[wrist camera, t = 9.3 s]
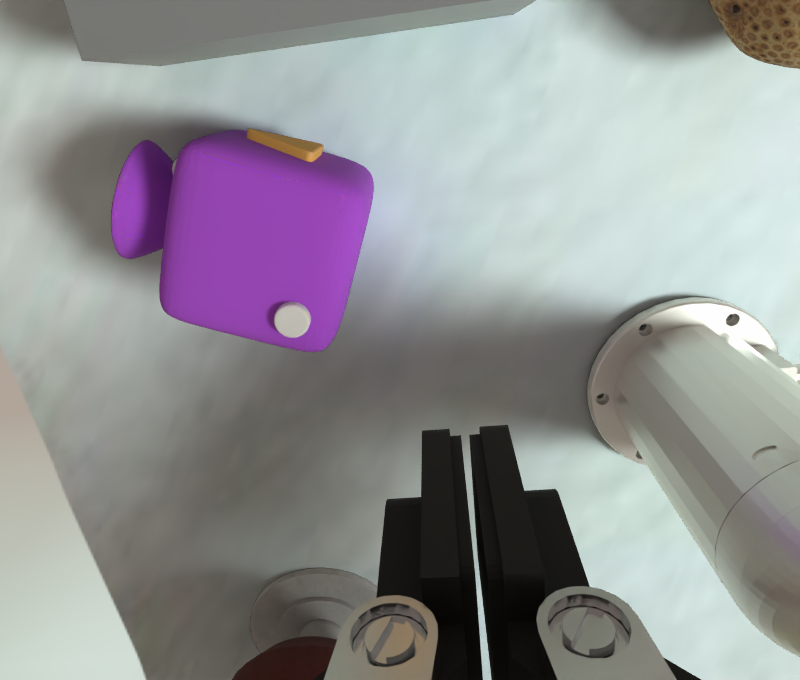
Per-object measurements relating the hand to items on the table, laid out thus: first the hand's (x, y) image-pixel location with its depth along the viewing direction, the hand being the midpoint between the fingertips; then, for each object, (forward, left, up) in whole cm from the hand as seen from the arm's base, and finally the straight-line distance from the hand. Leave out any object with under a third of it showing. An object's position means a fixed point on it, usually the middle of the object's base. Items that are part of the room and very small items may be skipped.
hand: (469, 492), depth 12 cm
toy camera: (+10, -1, -28) cm, 30 cm away
